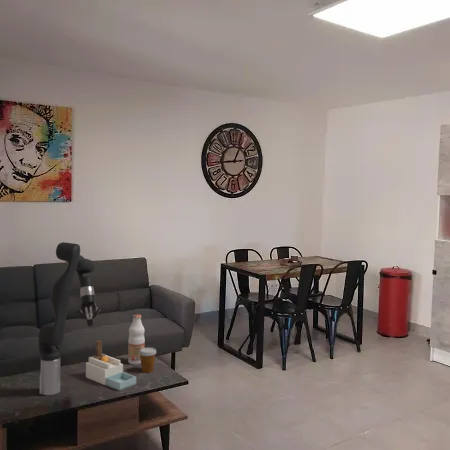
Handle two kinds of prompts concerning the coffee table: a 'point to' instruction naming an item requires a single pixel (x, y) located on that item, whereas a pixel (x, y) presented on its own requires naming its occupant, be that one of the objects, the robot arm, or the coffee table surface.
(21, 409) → the coffee table surface
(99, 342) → the plunger
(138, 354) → the fruit juice
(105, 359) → the ball
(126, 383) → the bin
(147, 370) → the disposable coffee cup
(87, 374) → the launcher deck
